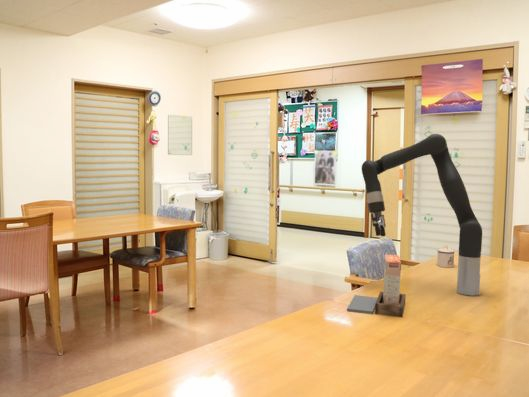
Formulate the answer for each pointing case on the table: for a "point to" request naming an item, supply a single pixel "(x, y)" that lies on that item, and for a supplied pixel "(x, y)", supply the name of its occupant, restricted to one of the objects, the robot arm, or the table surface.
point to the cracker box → (391, 280)
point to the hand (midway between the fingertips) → (381, 235)
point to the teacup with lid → (445, 257)
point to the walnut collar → (390, 306)
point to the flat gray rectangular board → (362, 304)
